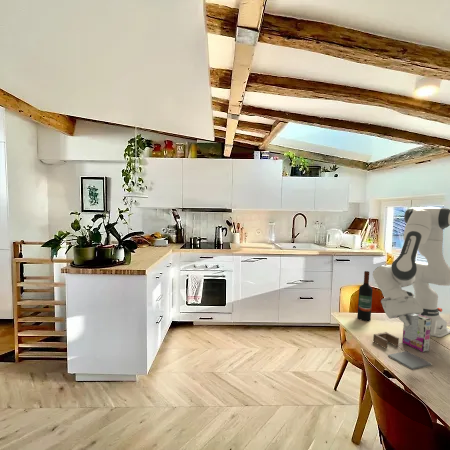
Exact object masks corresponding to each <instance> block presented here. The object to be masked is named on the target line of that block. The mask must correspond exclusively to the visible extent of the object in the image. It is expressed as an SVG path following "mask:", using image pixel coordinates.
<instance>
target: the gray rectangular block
mask: <svg viewBox="0 0 450 450" xmlns="http://www.w3.org/2000/svg"><path fill="white" fill-rule="evenodd" d="M418 319H419V315H417V314H414V313H408V314H406V320H407V321H409V322H410V323H411V325H410V326H406V325H405V336H404V337H405V338H407V339H409V340H413V339H417V331H418Z"/></svg>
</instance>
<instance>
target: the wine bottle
mask: <svg viewBox="0 0 450 450" xmlns="http://www.w3.org/2000/svg"><path fill="white" fill-rule="evenodd" d="M363 274H364V275H363V283H362V284H361V285H360V286H359V288H358V301H357V317H356V318H357V320H360V321H362V322H370V321H371V320H372V319H371V318H372V316H371V315H372V304H373V288H372V286H370V284H369V282H370V271H367V270H365V271H364V273H363Z"/></svg>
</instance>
